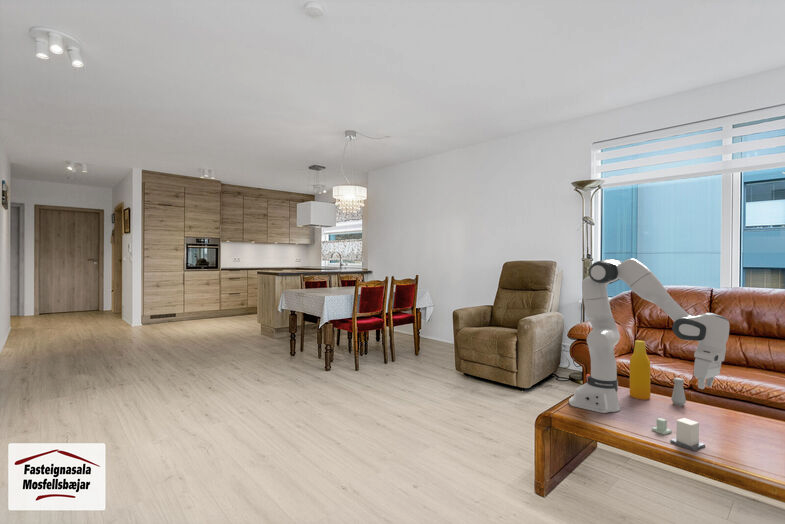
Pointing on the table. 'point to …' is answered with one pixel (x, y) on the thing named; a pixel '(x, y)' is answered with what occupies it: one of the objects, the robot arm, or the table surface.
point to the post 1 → (662, 427)
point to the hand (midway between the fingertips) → (704, 387)
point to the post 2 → (693, 448)
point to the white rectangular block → (687, 431)
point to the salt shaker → (678, 392)
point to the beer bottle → (640, 372)
